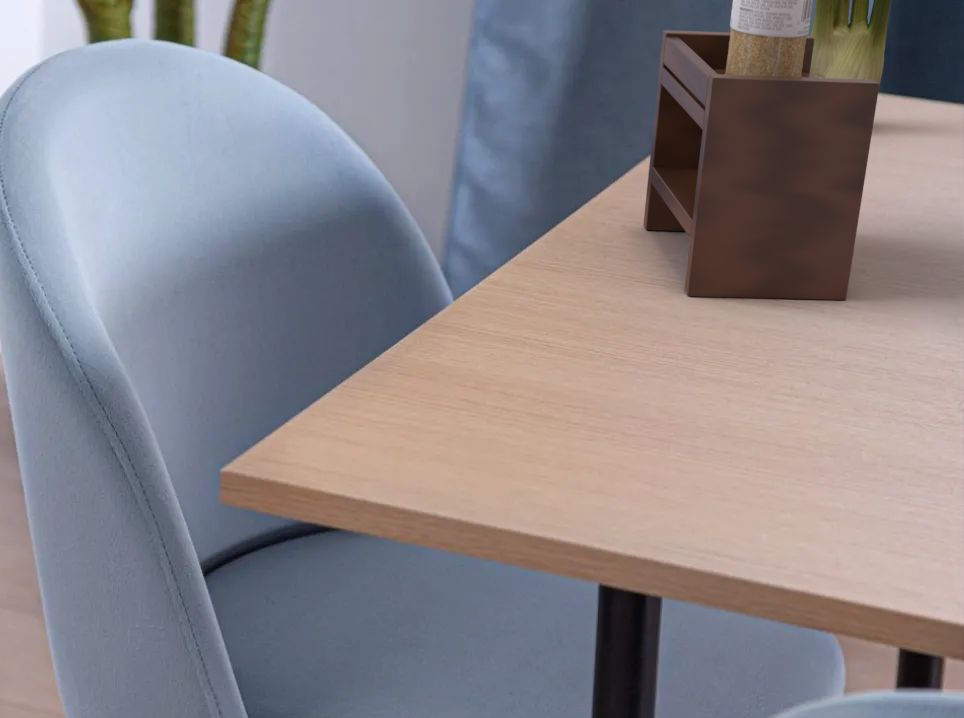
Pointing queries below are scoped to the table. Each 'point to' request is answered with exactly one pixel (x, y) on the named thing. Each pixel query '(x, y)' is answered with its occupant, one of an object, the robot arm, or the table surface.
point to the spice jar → (768, 37)
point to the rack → (758, 171)
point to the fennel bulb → (849, 39)
